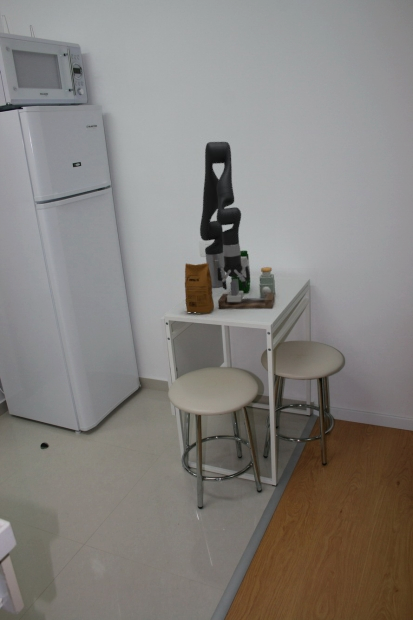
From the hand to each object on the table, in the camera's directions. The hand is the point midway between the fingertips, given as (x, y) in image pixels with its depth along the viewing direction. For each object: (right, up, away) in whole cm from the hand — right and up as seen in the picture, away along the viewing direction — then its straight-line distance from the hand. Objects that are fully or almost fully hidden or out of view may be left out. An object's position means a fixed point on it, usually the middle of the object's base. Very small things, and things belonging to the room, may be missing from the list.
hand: (234, 289), depth 225 cm
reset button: (+15, +6, +7) cm, 18 cm away
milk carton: (+5, 0, +22) cm, 22 cm away
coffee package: (-15, -10, 0) cm, 18 cm away
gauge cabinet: (+16, -3, +10) cm, 19 cm away
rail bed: (+6, -7, +1) cm, 9 cm away
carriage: (0, -4, +1) cm, 5 cm away
